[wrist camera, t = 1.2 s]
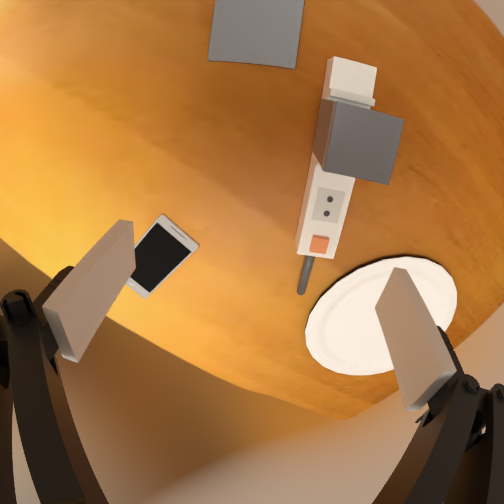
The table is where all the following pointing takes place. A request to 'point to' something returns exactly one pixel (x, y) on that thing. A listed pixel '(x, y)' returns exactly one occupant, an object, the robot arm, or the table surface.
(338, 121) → the grey block
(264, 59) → the mat
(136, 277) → the smartphone
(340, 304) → the plate
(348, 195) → the power strip
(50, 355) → the robot arm
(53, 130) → the table surface
